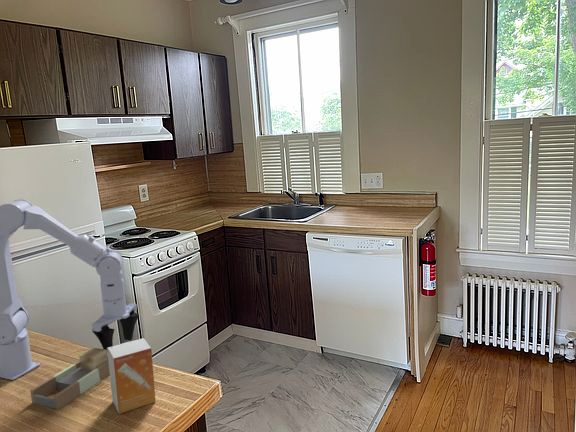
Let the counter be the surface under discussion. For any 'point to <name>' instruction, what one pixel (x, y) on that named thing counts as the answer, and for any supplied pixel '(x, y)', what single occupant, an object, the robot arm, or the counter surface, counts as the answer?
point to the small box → (131, 375)
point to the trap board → (68, 385)
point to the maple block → (93, 358)
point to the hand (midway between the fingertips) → (118, 345)
